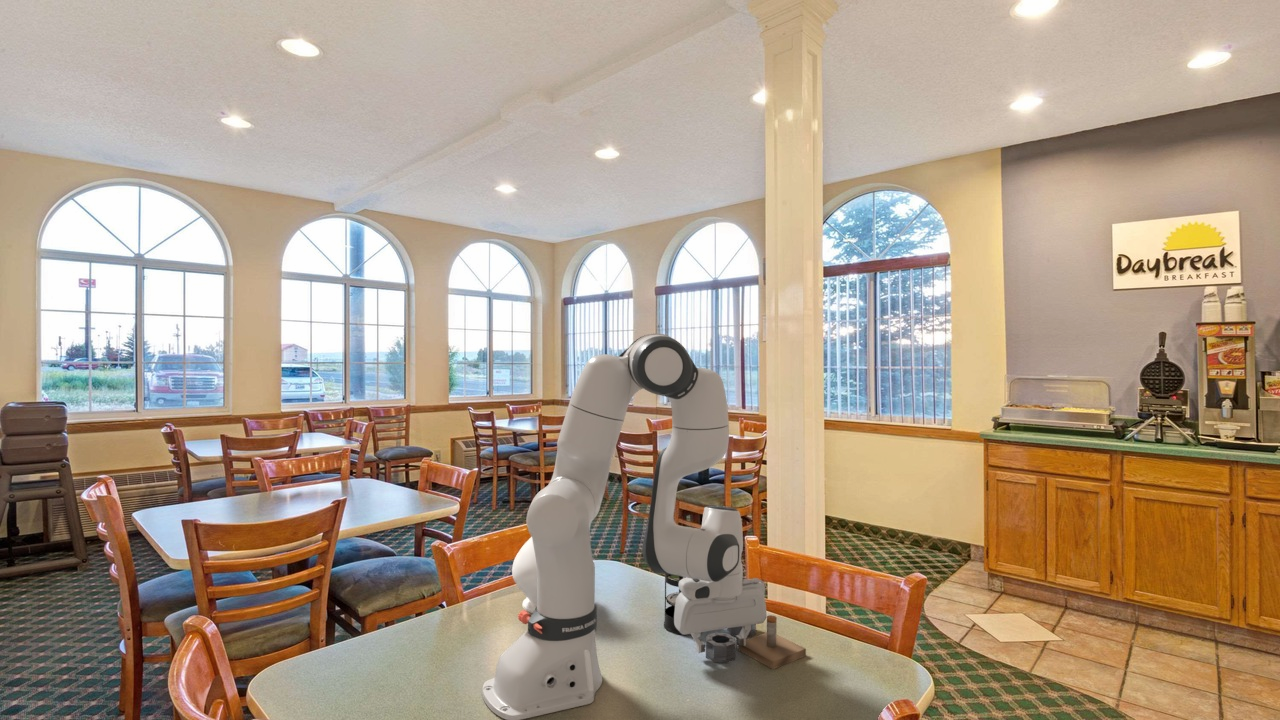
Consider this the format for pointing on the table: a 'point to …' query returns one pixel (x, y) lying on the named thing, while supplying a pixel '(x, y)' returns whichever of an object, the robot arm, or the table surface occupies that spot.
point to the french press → (670, 610)
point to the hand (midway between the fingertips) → (720, 648)
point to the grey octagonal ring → (736, 630)
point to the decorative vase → (526, 574)
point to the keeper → (772, 647)
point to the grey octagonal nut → (720, 647)
